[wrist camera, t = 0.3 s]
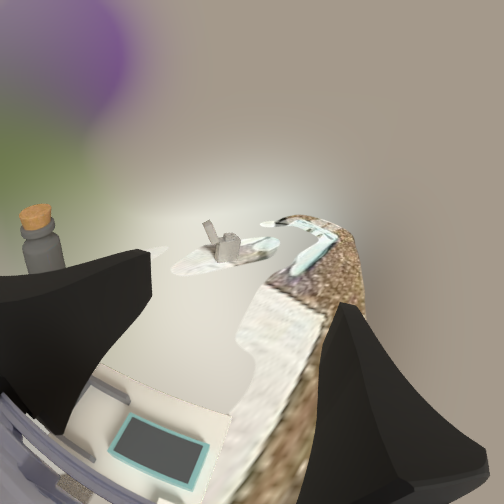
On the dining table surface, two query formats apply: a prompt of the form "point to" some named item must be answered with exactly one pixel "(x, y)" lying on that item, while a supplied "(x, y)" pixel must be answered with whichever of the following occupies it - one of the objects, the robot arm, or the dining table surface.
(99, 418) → the board
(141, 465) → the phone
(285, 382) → the dining table surface
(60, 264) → the bottle
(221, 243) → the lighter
